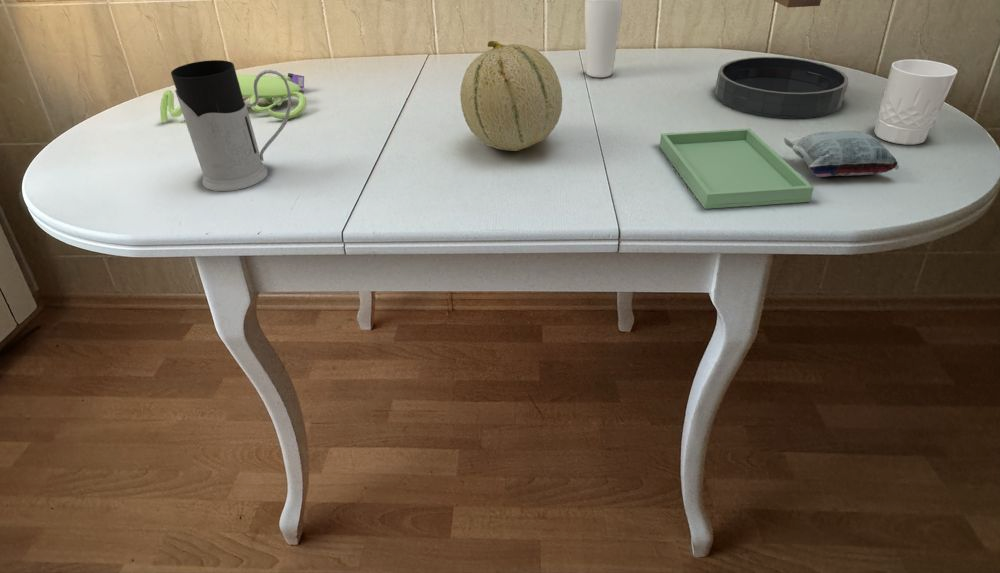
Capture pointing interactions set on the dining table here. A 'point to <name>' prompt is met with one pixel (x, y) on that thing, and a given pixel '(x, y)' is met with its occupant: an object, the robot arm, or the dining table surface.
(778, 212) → the dining table surface
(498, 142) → the cantaloupe
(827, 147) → the grey bean bag
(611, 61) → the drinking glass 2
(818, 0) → the block
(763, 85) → the pan
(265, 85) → the green coiled cable
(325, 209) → the dining table surface
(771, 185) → the tray
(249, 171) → the glass holder
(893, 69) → the white cup
